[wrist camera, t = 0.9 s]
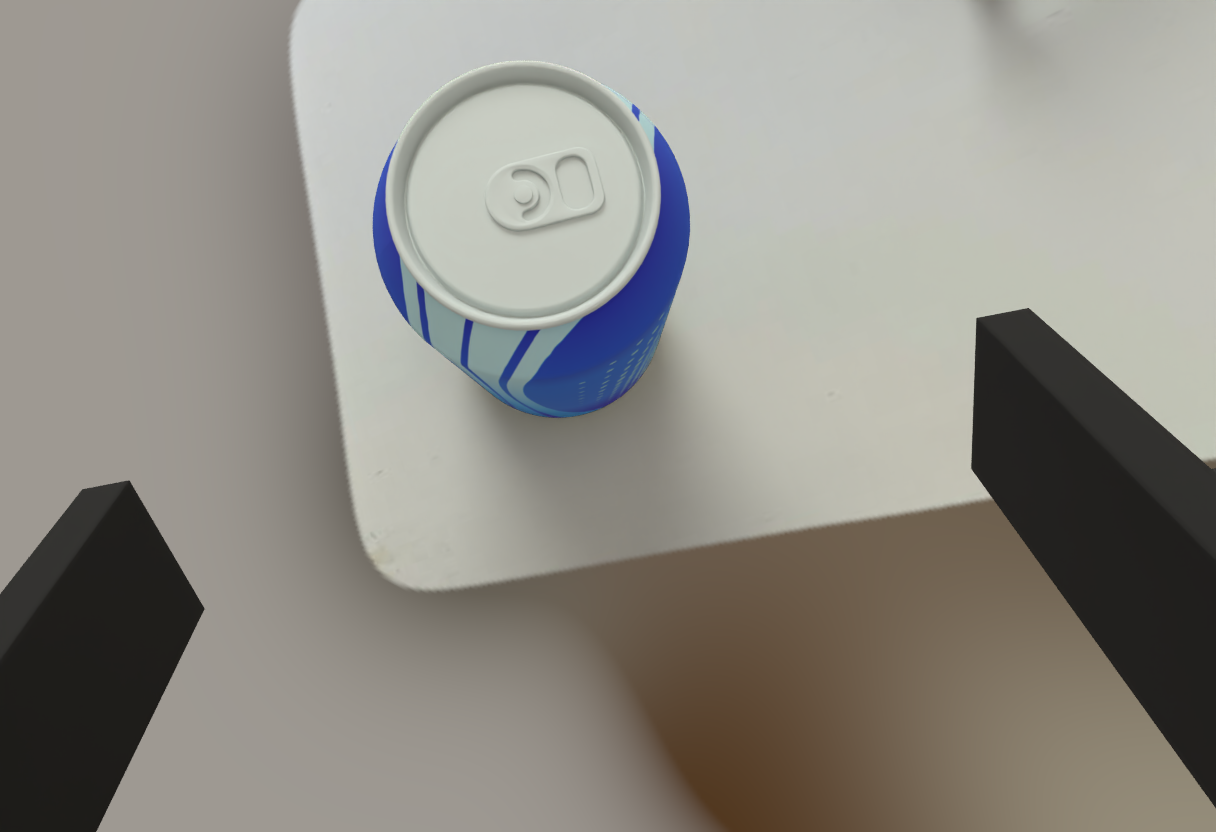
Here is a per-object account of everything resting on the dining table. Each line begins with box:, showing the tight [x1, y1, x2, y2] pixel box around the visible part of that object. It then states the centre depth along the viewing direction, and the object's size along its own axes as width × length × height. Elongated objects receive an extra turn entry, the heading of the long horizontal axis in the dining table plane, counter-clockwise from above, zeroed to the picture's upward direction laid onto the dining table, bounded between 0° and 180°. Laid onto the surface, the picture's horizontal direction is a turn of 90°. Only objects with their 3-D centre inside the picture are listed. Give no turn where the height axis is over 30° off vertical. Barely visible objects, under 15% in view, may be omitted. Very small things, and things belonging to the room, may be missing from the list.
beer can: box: [373, 61, 690, 418], centre depth 29 cm, size 8×8×16 cm
